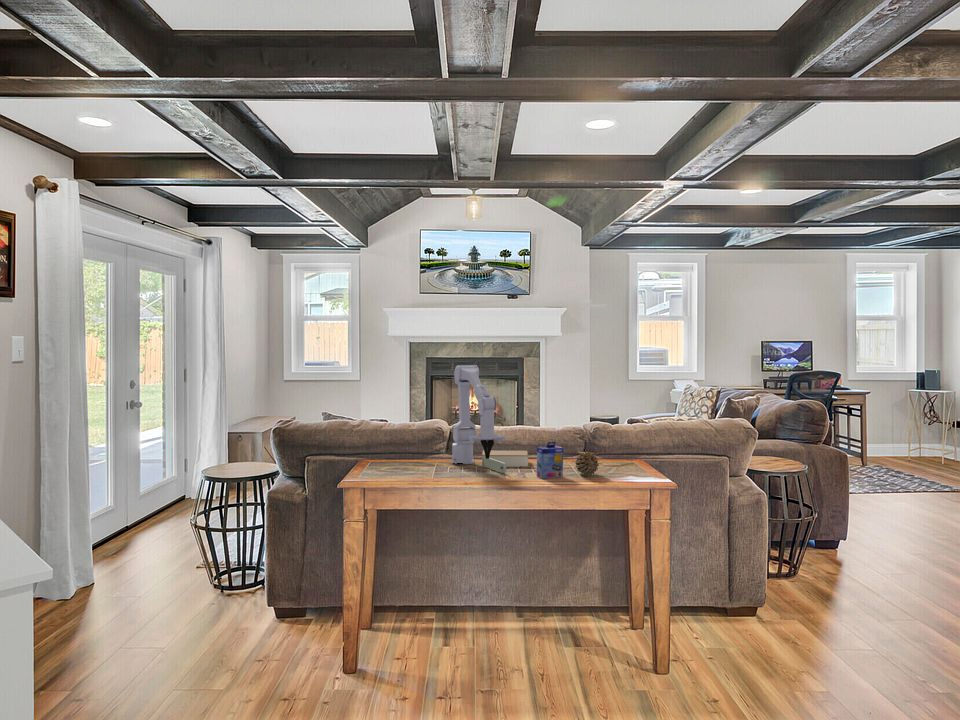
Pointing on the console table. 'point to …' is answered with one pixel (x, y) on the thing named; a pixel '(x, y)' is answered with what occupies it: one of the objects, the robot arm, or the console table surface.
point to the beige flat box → (509, 457)
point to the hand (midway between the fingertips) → (487, 458)
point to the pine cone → (586, 463)
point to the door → (494, 465)
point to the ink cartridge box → (549, 461)
